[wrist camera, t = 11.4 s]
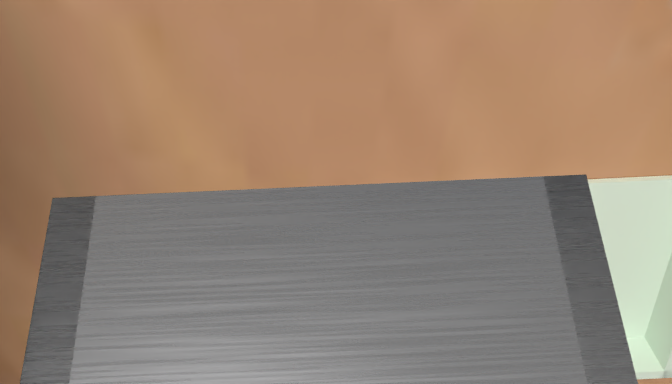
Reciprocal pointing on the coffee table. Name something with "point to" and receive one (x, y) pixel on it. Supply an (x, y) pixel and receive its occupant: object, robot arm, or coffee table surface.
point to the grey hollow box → (330, 287)
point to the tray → (640, 264)
